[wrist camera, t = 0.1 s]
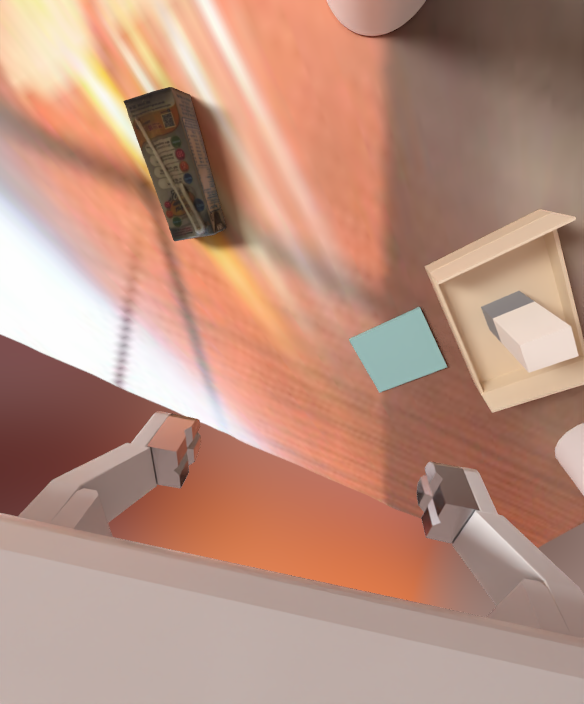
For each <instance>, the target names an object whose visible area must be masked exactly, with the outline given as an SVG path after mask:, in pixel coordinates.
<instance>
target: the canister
mask: <svg viewBox="0 0 584 704" xmlns="http://www.w3.org/2000/svg"><path fill="white" fill-rule="evenodd" d="M555 457H556V458H557V460H558V461H559V463H560V464H561V466H562V467H563V468H564V470H565V471H566V472H567V474H568V475H569V476H570V478H571V479H572V481H573V482H574V483H575V485H576V486H577V487H578V489H579V490H580V491H581V493H582V494H583V495H584V423H582V424H579V425H577V426H576V427H574V428H572V429H571V430H569V431H567V432H566V433H565V434H564V435H563V436H562V437H561V438H560V439H559V441H558V443H557V445H556V447H555Z"/></svg>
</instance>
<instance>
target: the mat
mask: <svg viewBox="0 0 584 704" xmlns="http://www.w3.org/2000/svg"><path fill="white" fill-rule="evenodd" d="M349 341H350V343H351V344H352V346H353V348H354V350H355V351H356V353H357V355H358V356H359V358H360V360H361V362H362V363H363V365H364V367H365V368H366V370H367V372H368V373H369V375H370V377H371V379H372V380H373V382H374V384H375V385H376V387H377V389H378V391H379V392H382V391H385V390H388V389H390V388H393V387H396V386H398V385H401V384H404V383H406V382H409V381H412V380H414V379H417V378H420V377H422V376H425V375H428V374H430V373H433V372H436V371H438V370H441V369H444V368H446V367H447V365H446V363H445V361H444V359H443V357H442V354H441V352H440V350H439V348H438V346H437V343H436V341H435V339H434V337H433V335H432V333H431V330H430V328H429V326H428V324H427V322H426V319H425V317H424V315H423V313H422V311H421V309H420V307H418V308H416V309H414V310H411V311H409V312H407V313H405V314H403V315H401V316H398V317H396V318H394V319H392V320H390V321H387V322H385V323H383V324H381V325H379V326H376V327H374V328H372V329H370V330H368V331H365V332H363V333H361V334H359V335H357V336H355V337H352V338H350V339H349Z"/></svg>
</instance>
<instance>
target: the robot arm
mask: <svg viewBox="0 0 584 704" xmlns="http://www.w3.org/2000/svg"><path fill="white" fill-rule="evenodd" d="M425 1H426V0H327V3H328V5H329V7H330V9H331V10H332V12H333V14H334V15H335V16H336V18H337V19H338V20H339V21H340V22H341V23H342V24H343V25H344V26H345V27H347V28H348V29H349V30H351V31H353V32H355V33H358V34H361V35H366V36H377V35H383V34H386V33H389V32H391V31H394V30H395V29H397V28H399V27H400V26H402V25H403V24H405V23H406V22H407V21H408V20H410V19H411V18H412V17H413V16H414V15H415V14H416V13H417V11H418V10H419V9H420V8H421V7H422V5H423V4H424V3H425ZM199 428H200V421H199V420H198V419H195V418H190V417H186V416H181V415H176V414H170V413H165V412H160V411H158V412H156V413H155V414H154V415H153V416H152V417H151V418H150V420H149V421H148V422H147V423H146V425H145V426H144V427H143V429H142V430H141V431H140V432H139V434H138V435H137V436H136V438H135V439H134V440H133V441H132V443H131V444H129V443H126V444H124V445H122V446H120V447H118V448H116V449H114V450H112V451H110V452H108V453H106V454H104V455H102V456H100V457H98V458H96V459H94V460H92V461H90V462H88V463H86V464H84V465H82V466H80V467H78V468H76V469H73V470H72V471H69V472H67V473H65V474H63V475H62V476H59V477H57V478H56V479H54V480H52V481H51V482H50V483H49V484H48V485H47V486H46V487H45V488H44V489H43V490H42V491H41V493H40V494H39V495H38V496H37V497H36V498H35V499H34V500H33V501H32V502H31V503H30V504H29V506H27V507H26V508H25V510H24V511H23V512H22V513H21V514H20V515H19V516H18V517H17V516H12V515H7V514H3V513H0V704H584V594H583V592H582V591H581V589H580V588H579V587H578V586H577V585H576V584H575V583H574V582H573V581H572V580H571V579H570V578H568V577H567V576H566V575H565V574H564V573H563V572H562V571H561V570H560V569H559V568H558V567H557V566H556V565H555V564H554V563H553V562H551V561H550V560H549V559H548V558H547V557H546V556H545V555H544V554H543V553H542V552H541V551H540V550H539V549H538V548H537V547H536V546H535V545H534V544H532V543H531V542H530V541H529V540H528V539H527V538H526V537H525V536H524V535H523V534H522V533H521V532H520V531H519V530H518V529H517V528H515V527H514V526H513V525H512V524H511V523H510V522H509V521H508V520H507V519H506V518H505V517H504V516H502V515H498V513H497V511H496V509H495V507H494V505H493V502H492V500H491V498H490V496H489V494H488V491H487V489H486V487H485V485H484V483H483V480H482V478H481V476H480V474H479V472H478V471H477V470H475V469H469V468H464V467H458V466H452V465H447V464H441V463H435V462H429V463H428V464H427V465H426V467H425V472H426V475H424V476H422V477H421V478H420V480H419V482H418V486H417V500H418V505H419V507H420V508H421V509H422V510H423V511H424V514H423V516H422V518H421V519H422V523H423V527H424V532H425V536H426V538H430V539H435V540H439V541H443V542H448V543H452V544H453V547H454V548H455V549H456V551H457V552H458V554H459V555H460V556H461V558H462V559H463V560H464V562H465V564H466V565H467V566H468V568H469V569H470V570H471V572H472V573H473V575H474V576H475V577H476V579H477V580H478V582H479V583H480V584H481V586H482V587H483V588H484V590H485V591H486V593H487V594H488V595H489V597H490V598H491V600H492V601H493V602H494V604H495V605H496V608H495V609H494V610H493V611H492V612H491V613H490V614H489V615H488V616H487V617H482V616H478V615H473V614H468V613H464V612H459V611H454V610H450V609H444V608H440V607H435V606H431V605H426V604H422V603H417V602H412V601H408V600H403V599H398V598H393V597H389V596H384V595H380V594H375V593H371V592H366V591H361V590H357V589H352V588H347V587H342V586H338V585H333V584H329V583H324V582H319V581H314V580H310V579H305V578H301V577H296V576H291V575H287V574H282V573H277V572H272V571H268V570H263V569H258V568H254V567H249V566H244V565H240V564H235V563H230V562H226V561H221V560H217V559H212V558H207V557H202V556H198V555H193V554H189V553H184V552H179V551H174V550H170V549H165V548H161V547H156V546H151V545H146V544H142V543H137V542H133V541H128V540H123V539H119V538H114V537H112V534H111V531H110V528H109V525H108V522H109V521H111V520H112V519H113V518H115V517H116V516H118V515H119V514H120V513H122V512H123V511H124V510H125V509H127V508H128V507H129V506H130V505H132V504H133V503H135V502H136V501H137V500H139V499H140V498H141V497H143V496H144V495H145V494H146V493H148V492H149V491H150V490H152V489H153V488H154V487H156V486H157V484H158V485H164V486H170V487H176V488H181V487H182V485H183V483H184V481H185V479H186V477H187V475H188V473H189V465H190V464H192V463H193V462H195V460H196V458H197V455H198V452H199V449H200V443H201V436H200V435H199V434H198V430H199Z"/></svg>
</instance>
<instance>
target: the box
mask: <svg viewBox="0 0 584 704" xmlns="http://www.w3.org/2000/svg"><path fill="white" fill-rule="evenodd" d="M481 308H482V311H483V314H484V317H485V319H486V322H487V325H488V327H489V330H490V331H491V332H492V333H493V334H494V335H495V336H496V337H497V339H498V340H499V341H500V342H501V343H502V344H503V345H504V346H505V347H506V348H507V349H508V351H509V352H510V353H511V354H512V355H513V356H514V357H515V358H516V359H517V360H518V361H519V363H520V364H521V365H522V366H523V367H524V368H525V369H526V370H527V371H528V372H529V373H530V372H533V371H536V370H539V369H542V368H545V367H548V366H551V365H554V364H557V363H560V362H563V361H565V360H568V359H571V358H574V357H577V356H579V355H578V351H577V348H576V344H575V340H574V336H573V332H572V328H571V326H570V325H568V324H567V323H566V322H564V321H563V320H561V319H560V318H558V317H557V316H555V315H554V314H552V313H551V312H549V311H548V310H547V309H545V308H544V307H542V306H541V305H539V304H538V303H536V302H535V301H533V300H532V299H530V298H529V297H528V296H526V295H525V294H523V293H522V292H520V291H517V292H515V293H512V294H510V295H508V296H505V297H503V298H501V299H498V300H496V301H494V302H491V303H489V304H486V305H484V306H482V307H481Z"/></svg>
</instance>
